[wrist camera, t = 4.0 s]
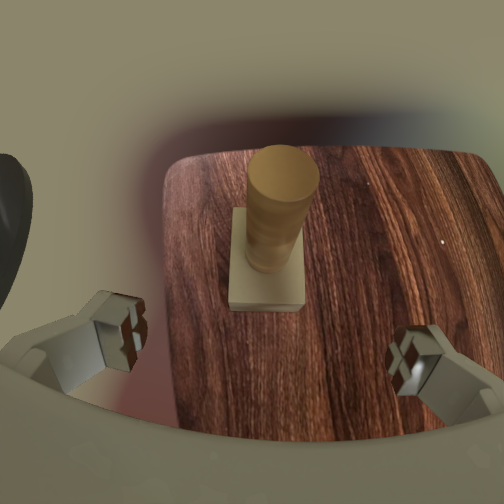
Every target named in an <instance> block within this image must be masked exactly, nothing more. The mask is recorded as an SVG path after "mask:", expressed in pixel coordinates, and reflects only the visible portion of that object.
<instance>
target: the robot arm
mask: <svg viewBox="0 0 504 504" xmlns="http://www.w3.org/2000/svg"><path fill="white" fill-rule="evenodd" d="M144 312H145V303H144V300H143V299H142V298H138V297H133V296H128V295H123V294H119V293H113V292H109V291H104V290H101V291H98V292H97V293H96V295H94V297H93V298H92V299H91V300H90V301H89V302H88V303H87V304H86V305H85V306H84V307H83V308H82V310H81V311H80V312H79V313H78V314H77V315H76V316H74V315H70V316H68V317H65V318H63V319H60V320H57V321H54V322H52V323H49V324H46V325H44V326H41V327H39V328H36V329H33V330H30V331H28V332H25V333H22V334H20V335H17V336H14V337H13V338H12V339H11V340H10V341H9V342H8V343H7V344H6V345H5V346H4V348H3V349H2V350H1V351H0V504H504V381H503V380H501V379H500V378H498V377H497V376H495V375H494V374H492V373H491V372H489V371H488V370H486V369H484V368H483V367H481V366H480V365H478V364H477V363H475V362H473V361H472V360H470V359H469V358H467V357H466V356H464V355H462V354H461V353H457V352H456V351H455V349H454V348H453V346H452V345H451V344H450V342H449V341H448V339H447V338H446V336H445V335H444V333H443V332H442V331H441V329H440V328H439V326H437V325H399V326H398V327H397V329H396V330H395V333H394V335H393V336H394V339H395V341H394V342H393V343H391V344H390V345H389V346H388V349H387V351H386V353H385V368H386V370H387V373H389V374H390V375H391V376H392V377H393V378H392V381H391V383H392V386H393V388H394V391H395V394H396V396H409V395H417V396H418V397H419V398H420V399H421V400H422V401H423V402H424V403H425V404H426V405H427V406H428V407H429V408H430V409H431V410H432V411H433V412H434V413H435V414H436V415H437V416H438V417H439V418H440V419H441V420H442V421H443V422H444V423H445V424H446V425H447V426H448V427H444V428H440V429H435V430H430V431H425V432H419V433H413V434H407V435H401V436H393V437H385V438H376V439H366V440H353V441H332V442H292V441H270V440H257V439H246V438H237V437H228V436H221V435H214V434H207V433H201V432H195V431H190V430H185V429H180V428H175V427H170V426H165V425H161V424H157V423H153V422H149V421H145V420H141V419H137V418H134V417H130V416H126V415H123V414H120V413H117V412H113V411H110V410H107V409H104V408H101V407H98V406H95V405H93V404H90V403H87V402H84V401H82V400H79V399H76V398H73V397H71V396H69V395H66V394H67V393H69V392H70V391H71V390H73V389H75V388H76V387H78V386H79V385H81V384H82V383H84V382H86V381H87V380H89V379H90V378H92V377H93V376H95V375H96V374H98V373H99V372H101V371H102V370H104V369H105V368H106V367H109V368H113V369H117V370H121V371H125V372H131V370H132V368H133V366H134V364H135V362H136V360H137V353H136V352H138V351H140V350H141V349H143V347H144V345H145V342H146V338H147V330H148V327H147V321H146V320H145V319H144V317H143V316H142V315H143V313H144Z"/></svg>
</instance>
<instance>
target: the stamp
mask: <svg viewBox="0 0 504 504" xmlns="http://www.w3.org/2000/svg"><path fill="white" fill-rule="evenodd" d="M319 178H320V177H319V170H318V167H317V165H316V163H315V162H314V160H313V159H312V158H311V157H310V156H309V155H308V154H307V153H305V152H304V151H302V150H300V149H298V148H295V147H292V146H287V145H273V146H268V147H265V148H263V149H261V150H259V151H258V152H257V153H255V155H254V156H253V157H252V158H251V160H250V162H249V164H248V169H247V201H246V208H243V207H233V216H232V234H231V252H230V272H229V293H228V303H229V308H230V311H257V312H298V310H299V309H300V308H301V307H302V306H303V305H304V304H305V279H304V254H303V234H302V225H303V223H304V220H305V217H306V215H307V212H308V210H309V207H310V205H311V202H312V200H313V197H314V194H315V192H316V189H317V187H318V184H319Z"/></svg>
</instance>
